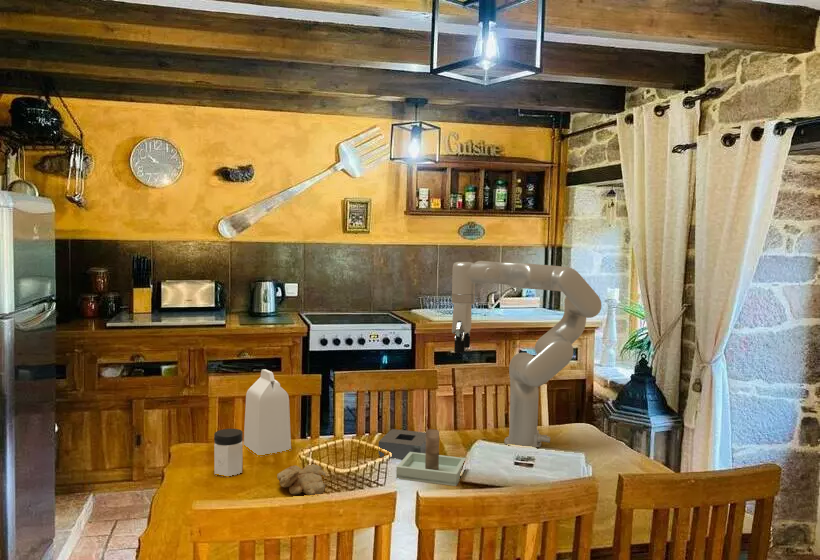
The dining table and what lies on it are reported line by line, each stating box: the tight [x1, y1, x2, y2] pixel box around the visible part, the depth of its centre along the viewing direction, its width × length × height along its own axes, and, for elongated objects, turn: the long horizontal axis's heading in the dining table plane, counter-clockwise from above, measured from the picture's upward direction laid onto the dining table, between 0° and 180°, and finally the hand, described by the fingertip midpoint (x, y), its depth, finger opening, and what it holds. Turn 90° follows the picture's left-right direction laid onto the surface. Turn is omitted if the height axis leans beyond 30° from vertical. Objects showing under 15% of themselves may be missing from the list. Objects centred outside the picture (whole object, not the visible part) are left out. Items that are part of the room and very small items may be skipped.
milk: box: [243, 368, 292, 456], centre depth 217 cm, size 12×12×26 cm
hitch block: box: [378, 428, 426, 460], centre depth 216 cm, size 14×14×5 cm
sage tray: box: [395, 452, 467, 487], centre depth 197 cm, size 18×14×4 cm
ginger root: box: [276, 463, 327, 496], centre depth 184 cm, size 16×16×8 cm
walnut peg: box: [425, 428, 440, 470], centre depth 197 cm, size 4×4×12 cm
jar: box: [213, 428, 244, 477], centre depth 196 cm, size 9×8×12 cm
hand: (462, 349), depth 220 cm, fingers open, 9 cm apart
